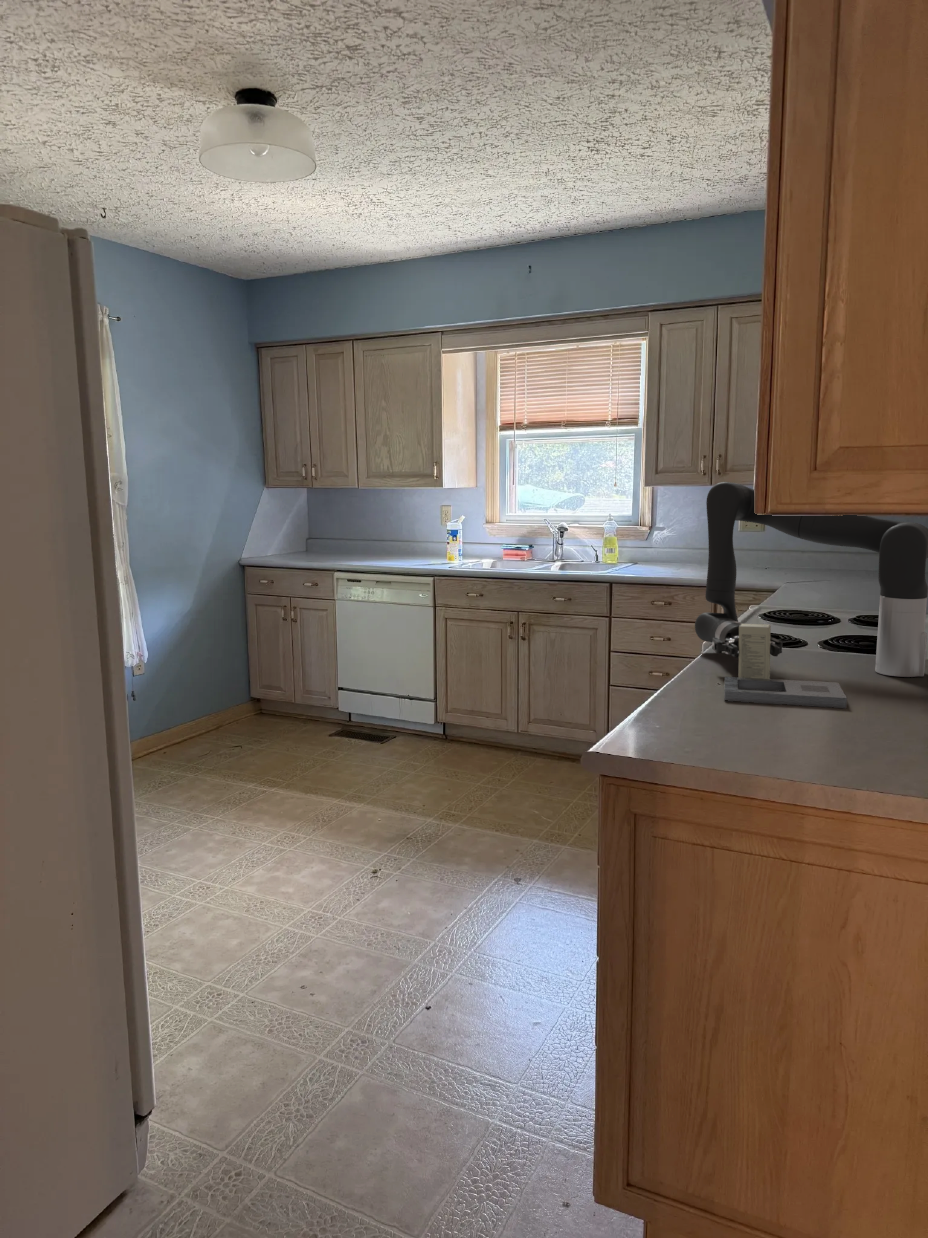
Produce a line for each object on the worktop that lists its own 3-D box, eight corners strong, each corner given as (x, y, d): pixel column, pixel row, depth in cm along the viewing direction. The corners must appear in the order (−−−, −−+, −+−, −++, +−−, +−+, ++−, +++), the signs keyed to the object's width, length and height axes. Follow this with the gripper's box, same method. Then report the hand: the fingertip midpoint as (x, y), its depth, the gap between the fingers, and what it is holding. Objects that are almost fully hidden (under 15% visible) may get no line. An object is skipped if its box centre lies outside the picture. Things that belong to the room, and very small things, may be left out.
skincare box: (770, 679, 183) (772, 624, 181) (768, 683, 179) (770, 627, 177) (739, 677, 185) (741, 622, 184) (736, 681, 182) (738, 625, 180)
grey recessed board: (837, 692, 171) (838, 682, 171) (846, 708, 159) (846, 698, 158) (724, 686, 177) (724, 676, 177) (724, 701, 165) (724, 691, 165)
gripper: (704, 622, 196) (723, 634, 180) (766, 622, 195) (790, 634, 179) (703, 654, 197) (722, 669, 181) (765, 654, 196) (789, 668, 180)
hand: (756, 651), depth 180 cm, fingers open, 8 cm apart
